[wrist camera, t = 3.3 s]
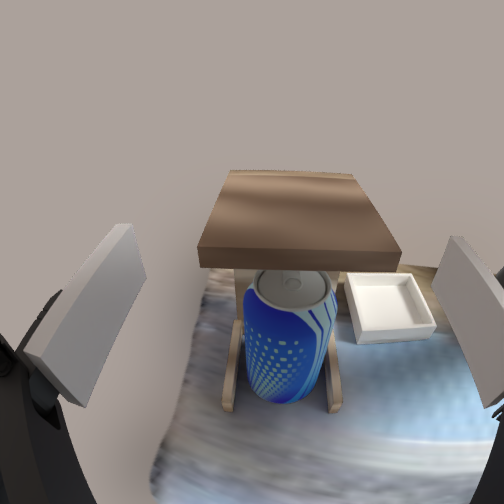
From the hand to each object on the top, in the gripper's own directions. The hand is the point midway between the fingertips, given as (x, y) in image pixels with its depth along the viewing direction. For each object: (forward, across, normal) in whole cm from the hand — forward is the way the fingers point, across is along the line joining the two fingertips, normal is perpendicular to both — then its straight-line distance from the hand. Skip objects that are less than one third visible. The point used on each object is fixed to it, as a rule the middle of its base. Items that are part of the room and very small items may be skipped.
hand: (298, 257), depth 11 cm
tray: (+21, +18, -25) cm, 37 cm away
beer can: (+9, +1, -25) cm, 27 cm away
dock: (+11, +1, -25) cm, 27 cm away
